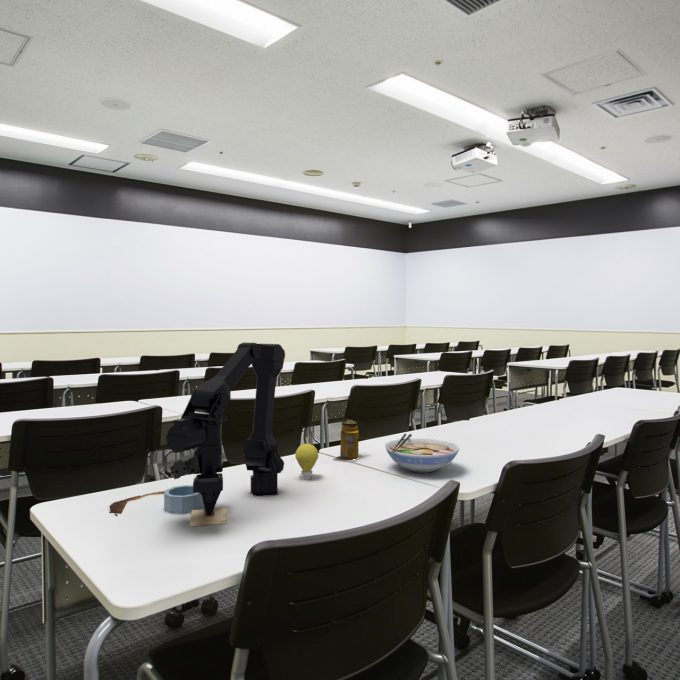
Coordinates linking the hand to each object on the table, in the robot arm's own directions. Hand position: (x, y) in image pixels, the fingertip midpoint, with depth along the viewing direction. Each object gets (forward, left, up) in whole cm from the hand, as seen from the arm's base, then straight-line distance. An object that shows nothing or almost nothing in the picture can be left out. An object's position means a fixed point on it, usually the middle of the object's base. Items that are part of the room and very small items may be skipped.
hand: (209, 511), depth 123 cm
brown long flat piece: (+13, -17, -3) cm, 21 cm away
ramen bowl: (-63, -31, -2) cm, 70 cm away
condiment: (-44, -49, -2) cm, 66 cm away
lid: (0, 0, -2) cm, 2 cm away
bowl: (+6, -9, -2) cm, 11 cm away
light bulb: (-27, -29, -2) cm, 40 cm away
